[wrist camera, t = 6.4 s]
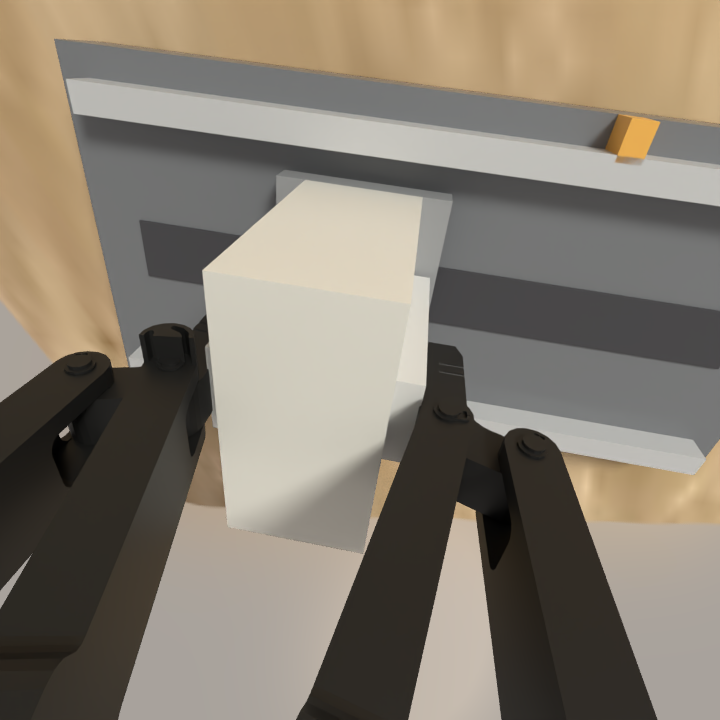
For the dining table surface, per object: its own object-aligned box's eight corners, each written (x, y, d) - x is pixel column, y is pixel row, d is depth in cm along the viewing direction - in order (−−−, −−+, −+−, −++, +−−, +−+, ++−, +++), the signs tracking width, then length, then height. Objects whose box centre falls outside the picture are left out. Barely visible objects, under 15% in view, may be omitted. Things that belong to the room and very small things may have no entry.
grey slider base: (155, 347, 25) (116, 387, 22) (100, 41, 17) (27, 37, 14) (670, 437, 23) (704, 494, 20) (871, 144, 15) (979, 164, 12)
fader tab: (282, 354, 20) (194, 520, 13) (284, 169, 16) (151, 262, 9) (412, 377, 20) (397, 560, 13) (451, 194, 16) (464, 313, 8)
